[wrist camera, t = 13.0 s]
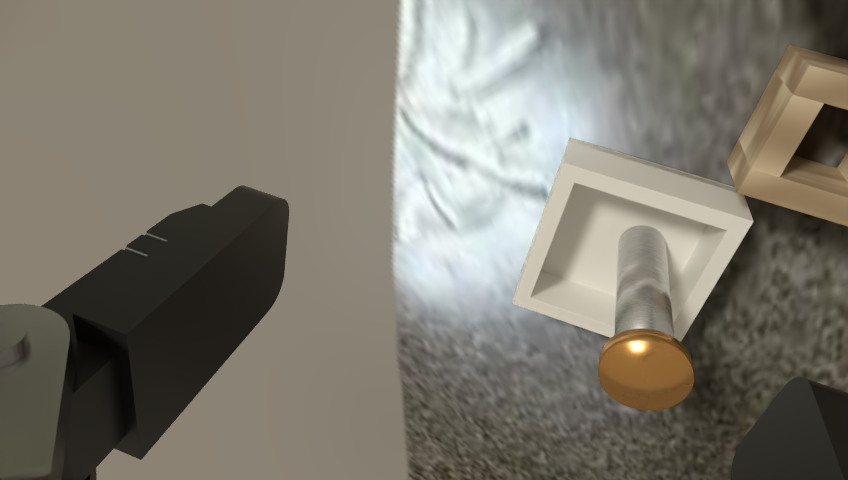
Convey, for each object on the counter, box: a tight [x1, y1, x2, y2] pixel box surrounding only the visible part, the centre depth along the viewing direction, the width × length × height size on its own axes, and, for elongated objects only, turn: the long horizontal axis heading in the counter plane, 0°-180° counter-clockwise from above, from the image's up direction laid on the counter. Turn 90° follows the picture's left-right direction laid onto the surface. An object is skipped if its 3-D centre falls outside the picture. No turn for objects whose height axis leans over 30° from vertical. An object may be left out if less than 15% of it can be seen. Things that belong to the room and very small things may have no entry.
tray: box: [512, 137, 753, 342], centre depth 39 cm, size 11×11×4 cm
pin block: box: [727, 45, 848, 226], centre depth 32 cm, size 7×7×4 cm
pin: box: [598, 225, 694, 410], centre depth 34 cm, size 4×4×13 cm
